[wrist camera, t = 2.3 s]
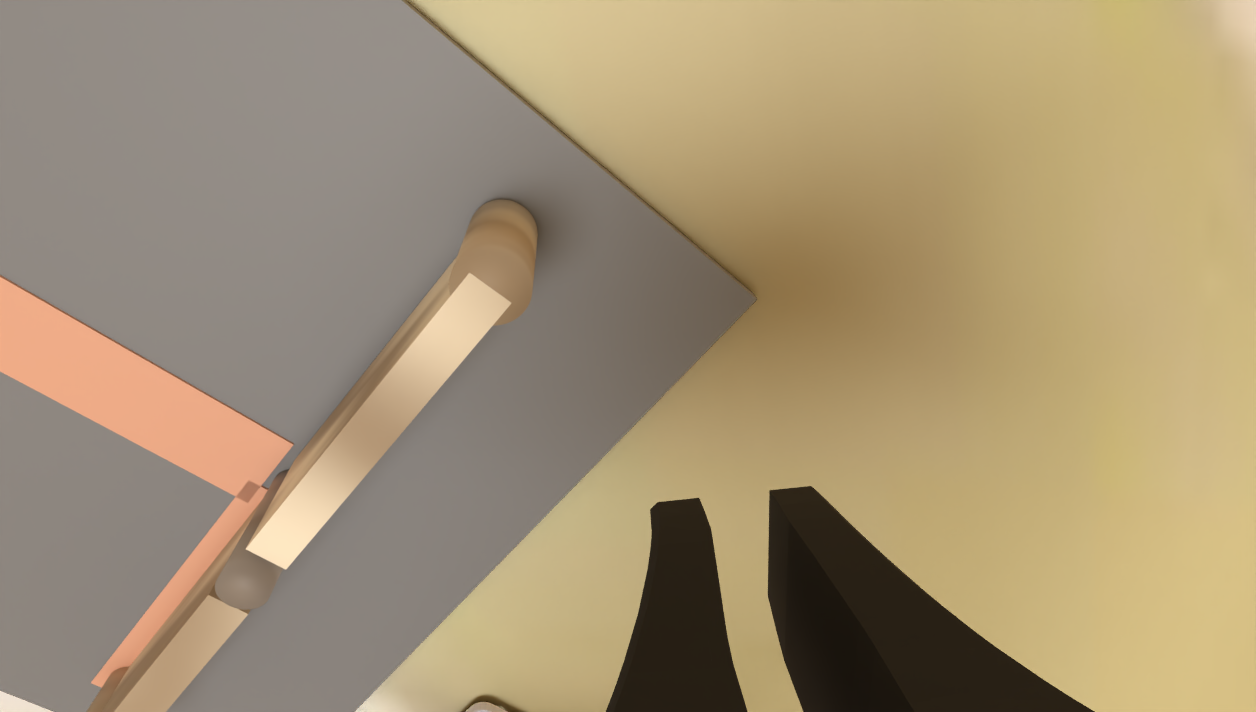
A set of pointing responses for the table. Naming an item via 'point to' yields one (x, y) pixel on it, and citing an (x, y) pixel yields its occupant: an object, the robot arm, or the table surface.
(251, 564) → the fixed fence section
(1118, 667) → the table surface
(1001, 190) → the table surface
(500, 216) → the bar
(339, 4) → the mat
